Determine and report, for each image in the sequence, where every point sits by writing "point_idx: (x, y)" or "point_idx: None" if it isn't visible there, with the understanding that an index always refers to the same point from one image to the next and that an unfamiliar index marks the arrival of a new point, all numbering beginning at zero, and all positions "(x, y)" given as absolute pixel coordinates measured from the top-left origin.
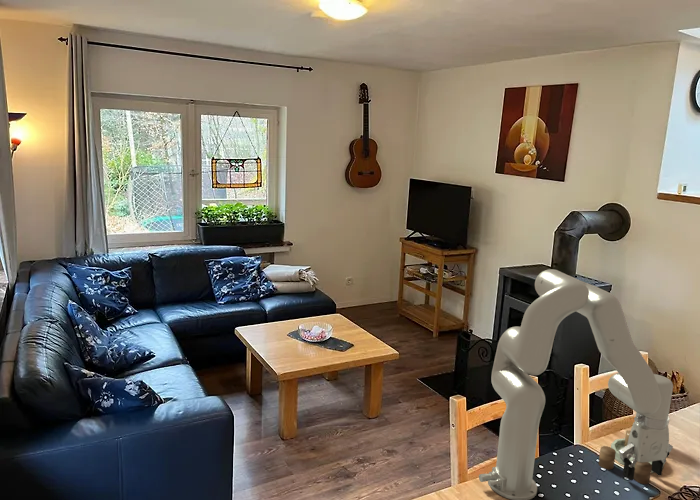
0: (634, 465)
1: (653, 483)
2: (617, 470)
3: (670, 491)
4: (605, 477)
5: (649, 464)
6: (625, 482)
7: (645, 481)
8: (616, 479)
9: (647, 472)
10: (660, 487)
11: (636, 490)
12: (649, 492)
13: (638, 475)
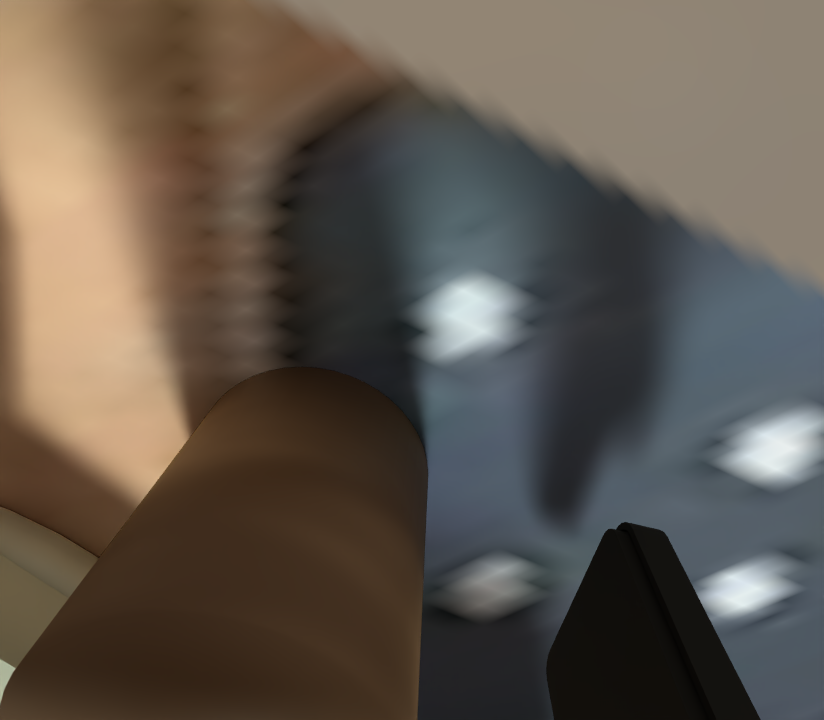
0: None
1: (198, 331)
2: (431, 711)
3: (87, 22)
4: None
5: (65, 697)
6: None
7: (354, 408)
8: None
9: (311, 527)
10: (176, 203)
11: (681, 350)
12: (527, 207)
13: (422, 550)
